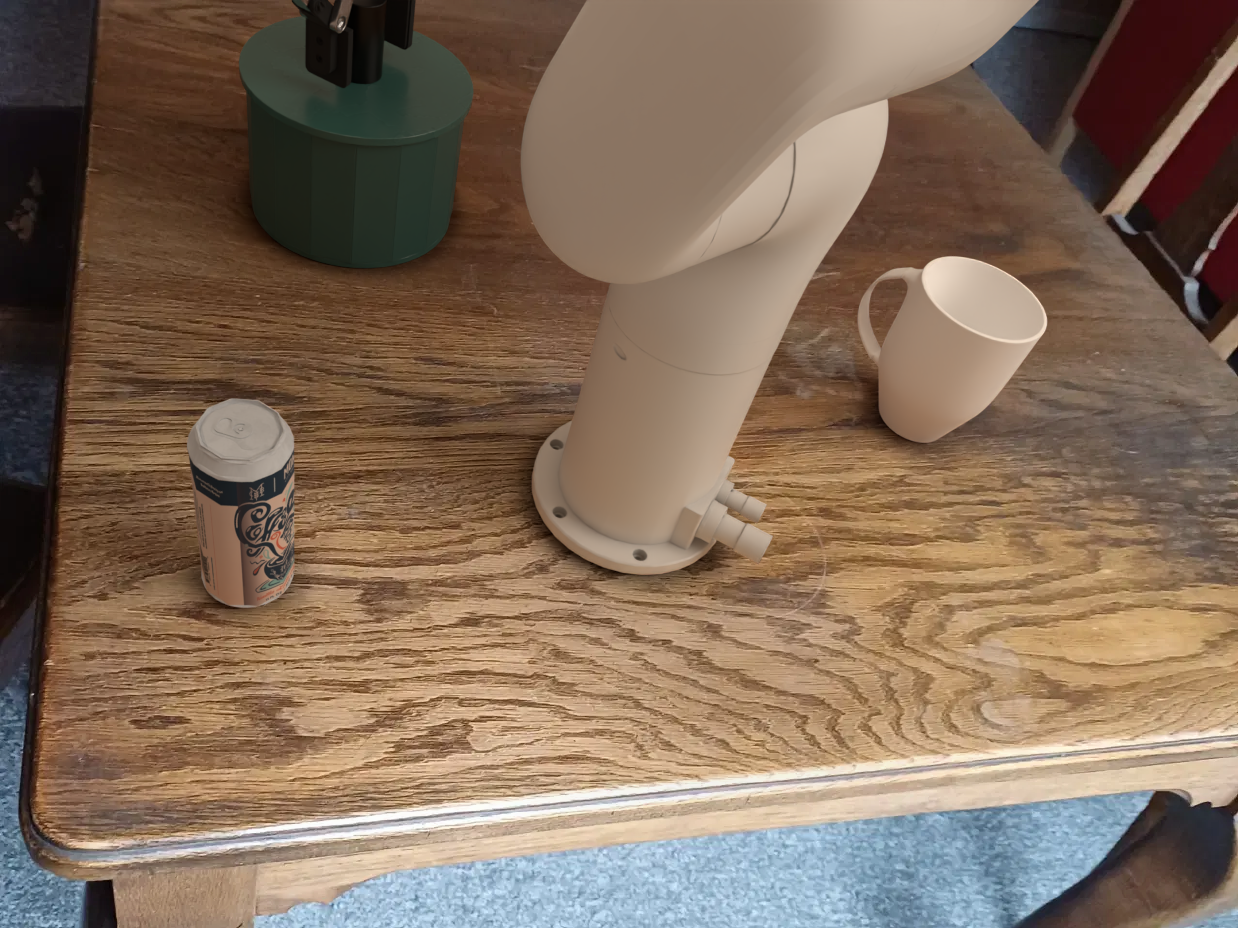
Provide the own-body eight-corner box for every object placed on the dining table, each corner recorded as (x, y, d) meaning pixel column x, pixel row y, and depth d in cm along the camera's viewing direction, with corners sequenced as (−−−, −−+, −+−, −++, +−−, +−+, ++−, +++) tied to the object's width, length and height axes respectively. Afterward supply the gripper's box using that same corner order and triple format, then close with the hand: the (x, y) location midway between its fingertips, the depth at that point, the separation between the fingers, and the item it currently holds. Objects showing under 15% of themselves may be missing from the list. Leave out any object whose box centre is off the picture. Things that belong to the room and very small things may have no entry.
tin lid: (511, 92, 79) (525, 4, 74) (390, 184, 68) (397, 89, 63) (332, 7, 81) (334, -84, 76) (188, 84, 70) (180, -15, 66)
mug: (986, 428, 81) (1069, 308, 72) (931, 483, 76) (1013, 361, 67) (861, 340, 85) (926, 215, 76) (800, 387, 79) (862, 259, 71)
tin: (484, 203, 86) (503, 84, 78) (379, 296, 76) (388, 170, 68) (330, 128, 88) (334, 4, 80) (208, 208, 78) (198, 76, 70)
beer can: (272, 623, 57) (268, 479, 49) (185, 598, 57) (166, 449, 48) (307, 555, 61) (310, 408, 52) (225, 530, 60) (214, 379, 52)
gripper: (337, -181, 54) (329, 134, 67) (509, -240, 65) (473, 38, 78) (213, -236, 55) (228, 84, 68) (404, -285, 66) (386, -3, 79)
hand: (360, 57), depth 73 cm, fingers open, 6 cm apart
